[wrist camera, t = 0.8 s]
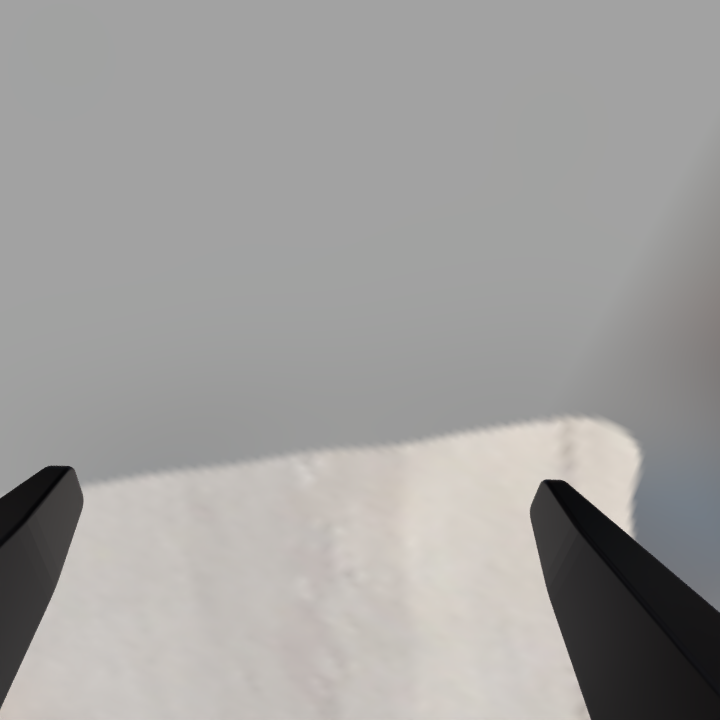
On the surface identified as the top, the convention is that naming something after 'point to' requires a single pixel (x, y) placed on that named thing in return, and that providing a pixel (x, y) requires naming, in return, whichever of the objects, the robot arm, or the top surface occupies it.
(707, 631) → the robot arm
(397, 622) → the top surface
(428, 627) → the top surface
